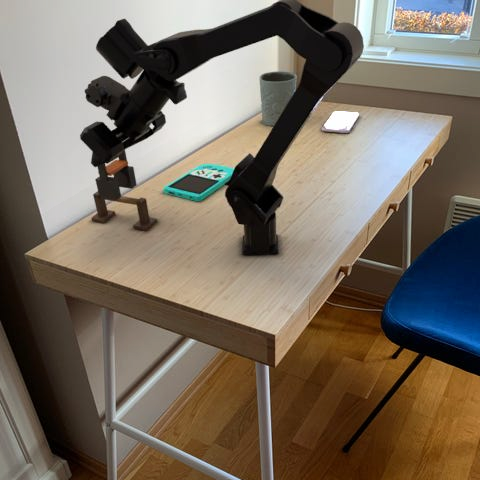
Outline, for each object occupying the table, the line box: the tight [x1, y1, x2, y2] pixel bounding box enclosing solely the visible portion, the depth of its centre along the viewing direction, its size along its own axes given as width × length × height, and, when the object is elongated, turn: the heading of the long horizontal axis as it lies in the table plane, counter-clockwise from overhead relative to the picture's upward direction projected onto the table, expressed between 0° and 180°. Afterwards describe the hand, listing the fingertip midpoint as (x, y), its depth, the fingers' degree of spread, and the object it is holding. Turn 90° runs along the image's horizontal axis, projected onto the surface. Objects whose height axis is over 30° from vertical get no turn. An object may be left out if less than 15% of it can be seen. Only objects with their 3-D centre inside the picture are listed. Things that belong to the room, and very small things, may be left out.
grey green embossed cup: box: [259, 70, 298, 127], centre depth 145 cm, size 10×10×12 cm
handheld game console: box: [163, 163, 235, 202], centre depth 118 cm, size 10×16×1 cm, turn 148°
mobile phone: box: [321, 111, 360, 134], centre depth 144 cm, size 8×1×15 cm
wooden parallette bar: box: [91, 190, 158, 232], centre depth 104 cm, size 13×4×6 cm, turn 66°
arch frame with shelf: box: [94, 142, 138, 201], centre depth 99 cm, size 7×4×10 cm, turn 156°
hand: (105, 157), depth 98 cm, fingers closed on arch frame with shelf, 7 cm apart
